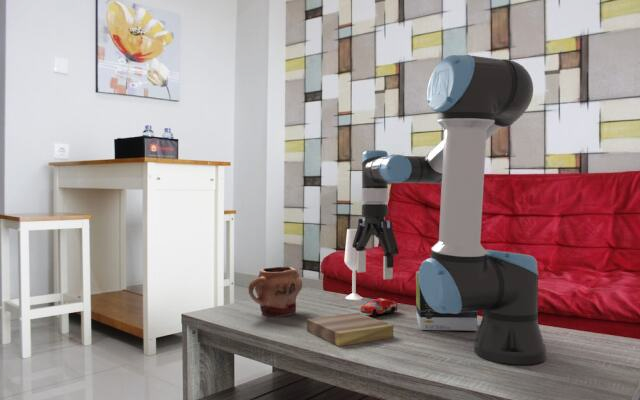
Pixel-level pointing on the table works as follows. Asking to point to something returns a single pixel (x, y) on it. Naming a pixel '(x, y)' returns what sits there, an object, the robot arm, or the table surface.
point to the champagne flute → (351, 261)
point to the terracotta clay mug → (276, 290)
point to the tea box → (441, 316)
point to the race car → (379, 307)
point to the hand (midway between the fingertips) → (374, 275)
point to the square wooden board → (349, 329)
